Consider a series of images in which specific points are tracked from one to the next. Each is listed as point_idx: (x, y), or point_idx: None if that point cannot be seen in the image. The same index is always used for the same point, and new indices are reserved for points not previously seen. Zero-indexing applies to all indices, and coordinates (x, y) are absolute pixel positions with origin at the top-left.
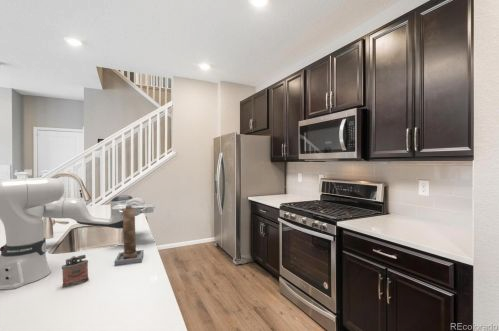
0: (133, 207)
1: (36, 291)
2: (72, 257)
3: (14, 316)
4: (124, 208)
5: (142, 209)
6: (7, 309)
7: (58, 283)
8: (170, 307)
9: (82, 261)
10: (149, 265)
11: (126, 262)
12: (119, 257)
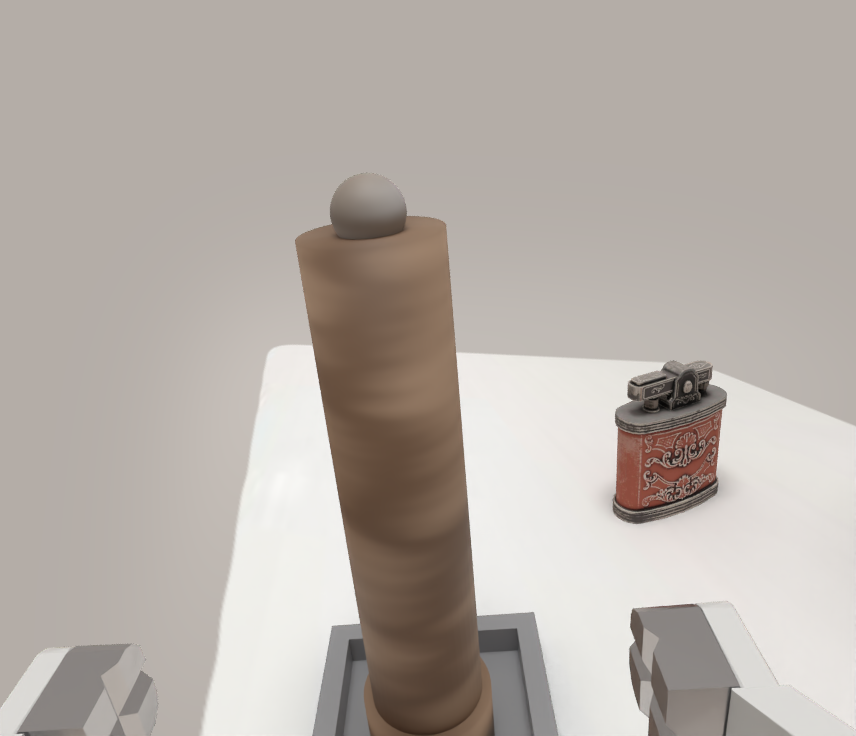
0: (307, 248)
1: (814, 470)
2: (682, 364)
3: (717, 383)
4: (428, 229)
5: (25, 699)
6: (791, 404)
7: (770, 510)
8: (274, 374)
9: (644, 412)
10: (286, 599)
11: None
12: (529, 713)
